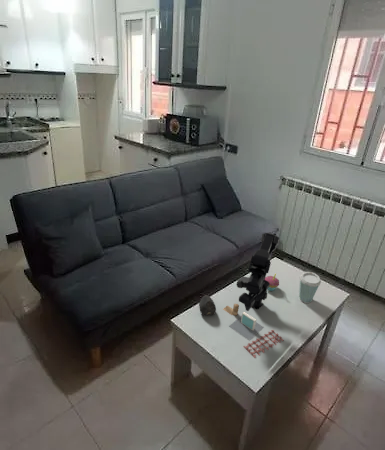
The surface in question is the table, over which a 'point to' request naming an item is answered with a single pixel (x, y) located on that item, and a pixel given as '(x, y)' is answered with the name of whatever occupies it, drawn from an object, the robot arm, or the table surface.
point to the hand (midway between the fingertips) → (252, 305)
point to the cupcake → (272, 282)
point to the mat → (245, 329)
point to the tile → (248, 321)
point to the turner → (232, 311)
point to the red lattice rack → (263, 343)
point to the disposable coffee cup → (308, 286)
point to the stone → (207, 306)
